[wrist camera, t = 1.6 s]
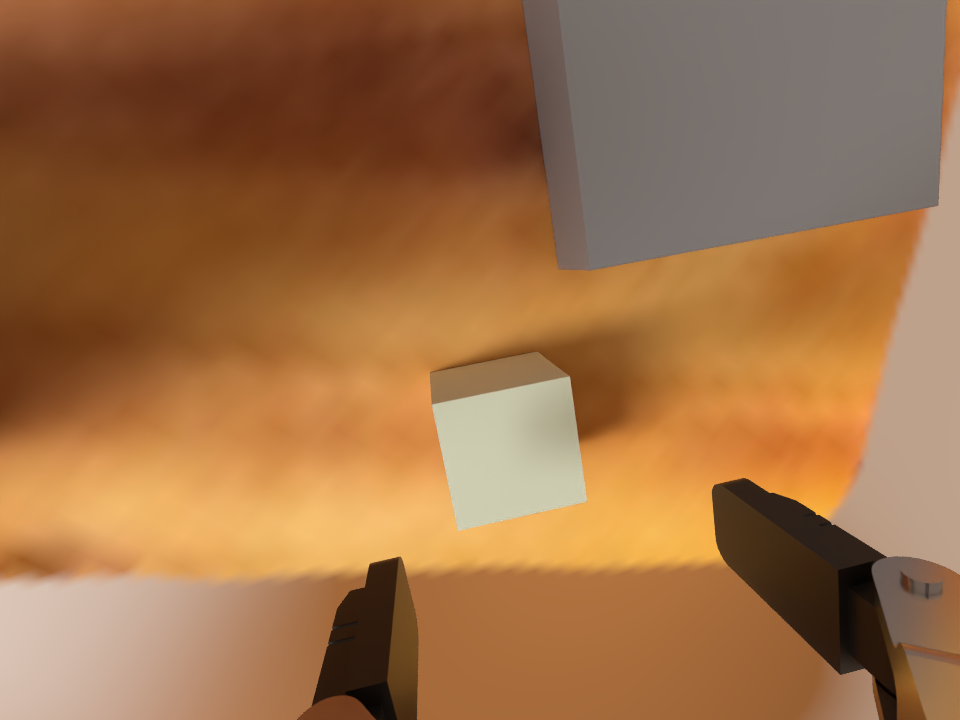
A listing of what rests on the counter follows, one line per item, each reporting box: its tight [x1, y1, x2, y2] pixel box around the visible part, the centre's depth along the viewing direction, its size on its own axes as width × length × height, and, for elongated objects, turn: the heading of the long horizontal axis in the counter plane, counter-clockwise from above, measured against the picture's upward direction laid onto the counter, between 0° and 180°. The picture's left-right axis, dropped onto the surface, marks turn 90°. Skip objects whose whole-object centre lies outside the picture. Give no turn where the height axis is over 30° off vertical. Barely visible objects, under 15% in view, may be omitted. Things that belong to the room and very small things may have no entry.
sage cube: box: [430, 352, 587, 531], centre depth 19 cm, size 5×5×5 cm
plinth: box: [522, 0, 947, 270], centre depth 18 cm, size 14×14×4 cm
